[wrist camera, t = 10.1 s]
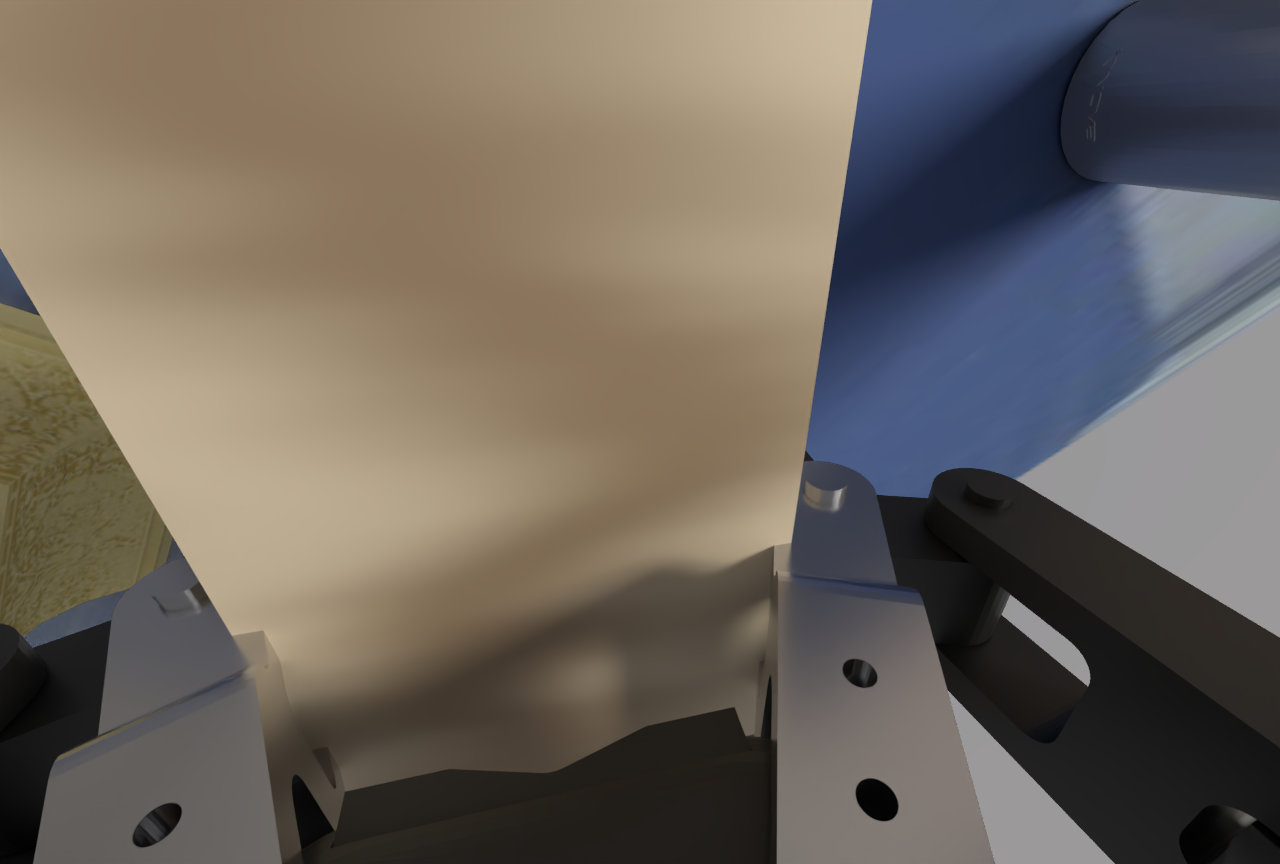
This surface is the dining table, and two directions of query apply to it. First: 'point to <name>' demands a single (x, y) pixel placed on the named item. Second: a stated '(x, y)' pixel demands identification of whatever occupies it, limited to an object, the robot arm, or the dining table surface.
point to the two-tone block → (449, 334)
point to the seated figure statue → (62, 487)
